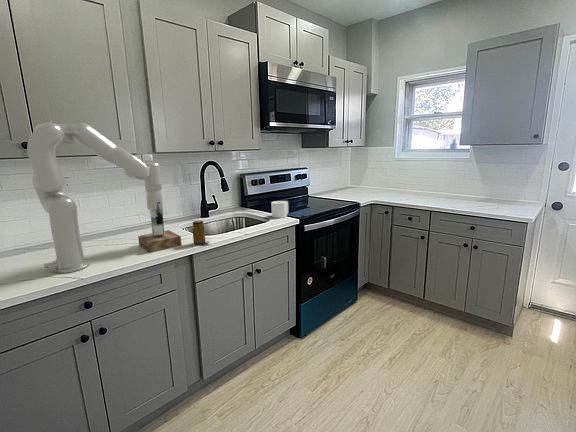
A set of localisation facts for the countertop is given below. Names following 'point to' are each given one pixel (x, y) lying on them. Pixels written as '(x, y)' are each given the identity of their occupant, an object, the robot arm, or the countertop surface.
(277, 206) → the toilet tissue
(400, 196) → the countertop surface
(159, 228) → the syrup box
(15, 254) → the countertop surface
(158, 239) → the block
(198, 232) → the condiment
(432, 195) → the countertop surface
